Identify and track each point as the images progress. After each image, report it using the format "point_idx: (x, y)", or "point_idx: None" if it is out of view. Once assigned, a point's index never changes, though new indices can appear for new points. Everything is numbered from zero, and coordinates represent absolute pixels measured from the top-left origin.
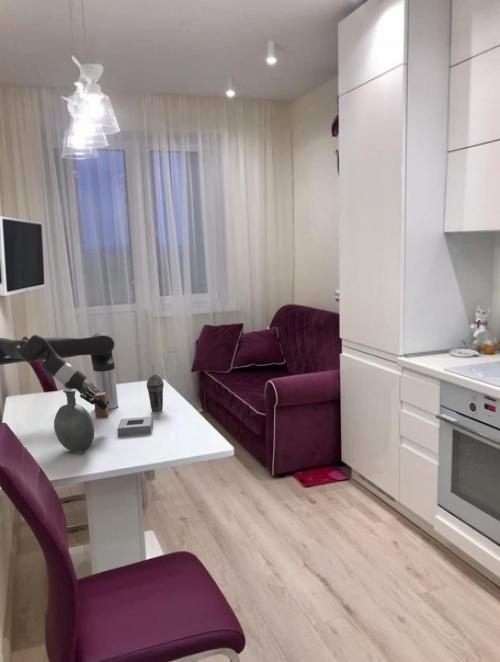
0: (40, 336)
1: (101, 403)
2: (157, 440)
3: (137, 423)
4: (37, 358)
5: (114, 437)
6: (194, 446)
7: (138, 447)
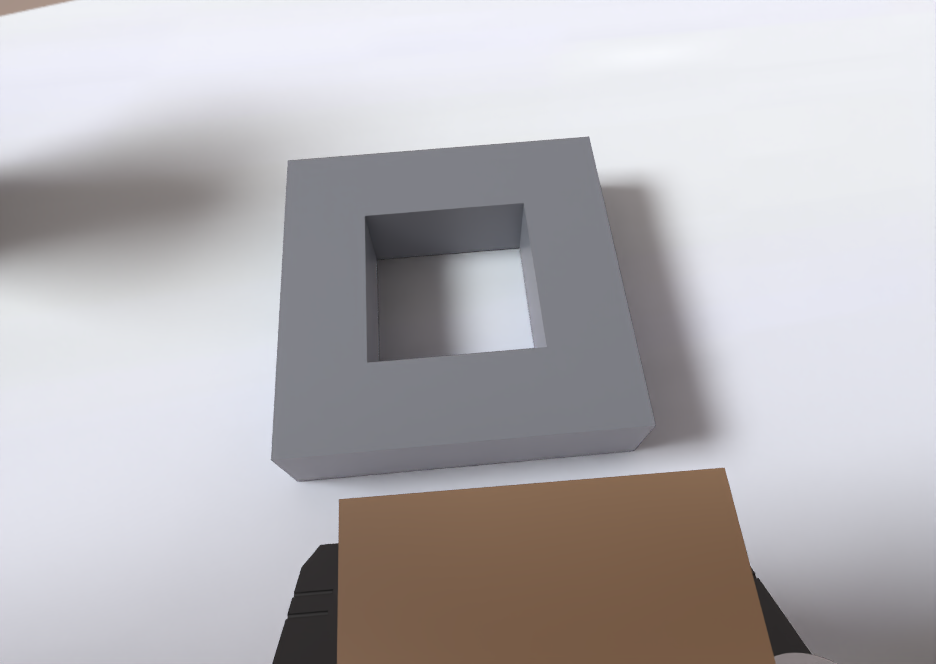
0: None
1: (764, 594)
2: (750, 125)
3: (372, 295)
4: None
5: None
6: None
7: (921, 223)
